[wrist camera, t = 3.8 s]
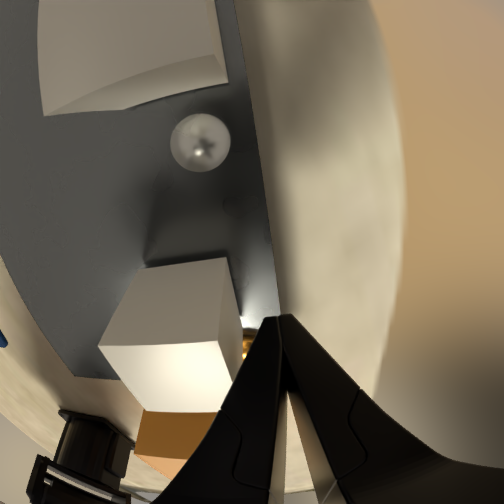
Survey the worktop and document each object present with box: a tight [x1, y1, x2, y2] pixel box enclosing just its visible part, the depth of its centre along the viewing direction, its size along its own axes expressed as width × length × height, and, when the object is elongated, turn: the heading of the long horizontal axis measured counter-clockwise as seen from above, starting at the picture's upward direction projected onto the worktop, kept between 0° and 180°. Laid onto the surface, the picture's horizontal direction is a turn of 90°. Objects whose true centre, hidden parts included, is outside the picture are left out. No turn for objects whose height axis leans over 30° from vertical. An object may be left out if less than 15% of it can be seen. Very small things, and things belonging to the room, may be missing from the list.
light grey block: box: [98, 257, 243, 412], centre depth 8 cm, size 3×3×4 cm
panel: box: [0, 0, 281, 380], centre depth 8 cm, size 12×20×2 cm, turn 9°
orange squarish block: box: [134, 409, 217, 480], centre depth 15 cm, size 6×6×5 cm
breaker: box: [37, 0, 228, 116], centre depth 4 cm, size 3×3×4 cm
